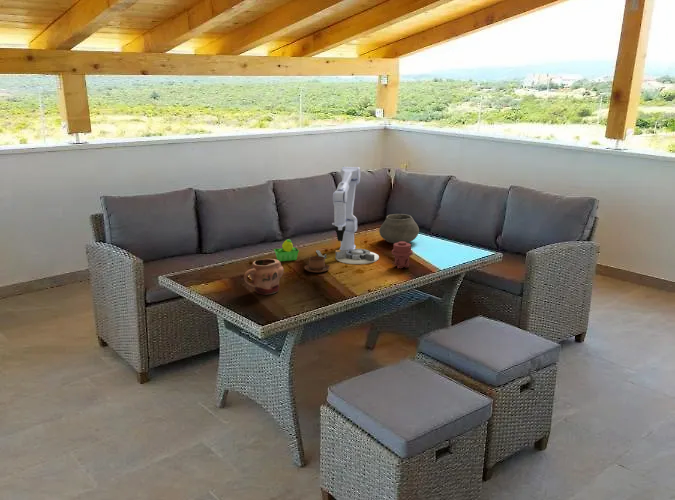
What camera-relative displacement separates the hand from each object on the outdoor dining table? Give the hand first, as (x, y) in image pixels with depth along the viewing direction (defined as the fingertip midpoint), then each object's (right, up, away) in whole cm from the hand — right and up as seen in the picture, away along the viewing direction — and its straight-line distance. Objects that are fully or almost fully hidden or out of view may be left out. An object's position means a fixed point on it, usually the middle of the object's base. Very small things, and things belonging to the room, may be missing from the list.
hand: (340, 240), depth 309 cm
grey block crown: (+7, -8, 0) cm, 10 cm away
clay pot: (+33, -1, +29) cm, 44 cm away
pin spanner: (-10, -8, +6) cm, 14 cm away
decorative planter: (-33, -23, -50) cm, 64 cm away
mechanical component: (+30, -13, -15) cm, 36 cm away
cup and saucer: (-11, -15, -20) cm, 27 cm away
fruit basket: (-27, -10, -2) cm, 29 cm away
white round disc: (+9, -9, 0) cm, 12 cm away
